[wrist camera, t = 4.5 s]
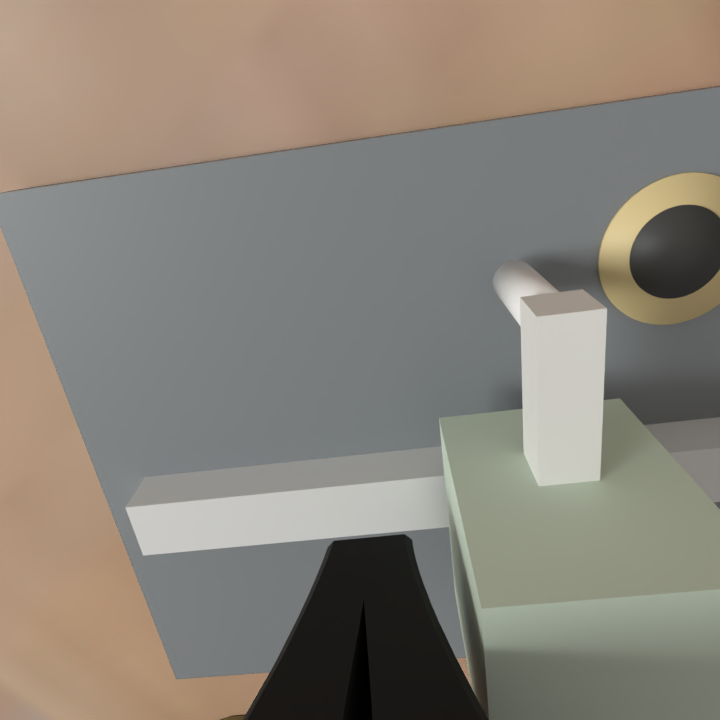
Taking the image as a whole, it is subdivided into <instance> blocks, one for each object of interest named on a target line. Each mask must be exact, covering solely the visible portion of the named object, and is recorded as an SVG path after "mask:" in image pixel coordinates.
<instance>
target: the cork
mask: <svg viewBox="0 0 720 720" xmlns="http://www.w3.org/2000/svg"><path fill="white" fill-rule="evenodd" d="M244 717H245V715H242V716H231V717H228V718H225V719H222V720H243V719H244Z"/></svg>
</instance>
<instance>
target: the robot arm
mask: <svg viewBox="0 0 720 720" xmlns="http://www.w3.org/2000/svg"><path fill="white" fill-rule="evenodd" d="M243 720H489V719H488V717H487V715H486V714H485V712H484V710H483V708H482V706H481V705H480V703H479V701H478V699H477V697H476V695H475V694H474V692H473V690H472V688H471V686H470V684H469V682H468V680H467V679H466V677H465V675H464V673H463V671H462V669H461V667H460V665H459V663H458V661H457V659H456V657H455V655H454V653H453V650H452V648H451V646H450V644H449V642H448V640H447V638H446V636H445V633H444V631H443V629H442V627H441V625H440V623H439V621H438V618H437V616H436V614H435V611H434V609H433V607H432V604H431V602H430V599H429V597H428V594H427V591H426V589H425V586H424V583H423V581H422V578H421V575H420V572H419V568H418V565H417V562H416V558H415V553H414V549H413V541H412V539H411V538H409V537H408V536H407V535H405V534H400V535H389V536H379V537H368V538H357V539H347V540H336V541H333V542H332V543H331V544H330V545H329V546H328V548H327V550H326V553H325V556H324V559H323V561H322V564H321V566H320V569H319V571H318V574H317V576H316V579H315V581H314V583H313V586H312V588H311V590H310V593H309V595H308V597H307V599H306V601H305V603H304V606H303V608H302V610H301V612H300V614H299V616H298V618H297V620H296V622H295V624H294V626H293V628H292V630H291V632H290V634H289V636H288V638H287V640H286V642H285V644H284V646H283V648H282V650H281V652H280V654H279V656H278V658H277V660H276V662H275V664H274V666H273V668H272V669H271V671H270V673H269V675H268V677H267V679H266V680H265V682H264V684H263V686H262V687H261V689H260V691H259V693H258V694H257V696H256V698H255V700H254V701H253V703H252V705H251V707H250V708H249V710H248V712H247V714H246V715H245V717H244V719H243Z"/></svg>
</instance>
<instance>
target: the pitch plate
mask: <svg viewBox="0 0 720 720" xmlns="http://www.w3.org/2000/svg"><path fill="white" fill-rule="evenodd" d="M0 227H1V229H2V232H3V234H4V237H5V240H6V242H7V245H8V247H9V250H10V252H11V255H12V258H13V260H14V263H15V265H16V268H17V271H18V273H19V276H20V278H21V281H22V283H23V286H24V289H25V291H26V294H27V296H28V299H29V301H30V304H31V307H32V309H33V312H34V314H35V317H36V319H37V322H38V325H39V327H40V330H41V332H42V335H43V337H44V340H45V343H46V345H47V348H48V350H49V353H50V355H51V358H52V361H53V363H54V366H55V368H56V371H57V373H58V376H59V379H60V381H61V384H62V386H63V389H64V391H65V394H66V397H67V399H68V402H69V404H70V407H71V409H72V412H73V415H74V417H75V420H76V422H77V425H78V427H79V430H80V433H81V435H82V438H83V440H84V443H85V445H86V448H87V451H88V453H89V456H90V458H91V461H92V463H93V466H94V469H95V471H96V474H97V476H98V479H99V481H100V484H101V487H102V489H103V492H104V494H105V497H106V499H107V502H108V505H109V507H110V510H111V512H112V515H113V518H114V520H115V523H116V525H117V528H118V530H119V533H120V536H121V538H122V541H123V543H124V546H125V548H126V551H127V554H128V556H129V559H130V561H131V564H132V566H133V569H134V572H135V574H136V577H137V579H138V582H139V584H140V587H141V590H142V592H143V595H144V597H145V600H146V602H147V605H148V608H149V610H150V613H151V615H152V618H153V620H154V623H155V626H156V628H157V631H158V633H159V636H160V638H161V641H162V644H163V646H164V649H165V651H166V654H167V656H168V659H169V662H170V664H171V667H172V669H173V672H174V674H175V677H176V679H187V678H201V677H214V676H227V675H240V674H254V673H267V672H270V671H271V669H272V668H273V666H274V664H275V662H276V660H277V658H278V656H279V654H280V652H281V650H282V648H283V646H284V644H285V642H286V640H287V638H288V636H289V634H290V632H291V630H292V628H293V626H294V624H295V622H296V620H297V618H298V616H299V614H300V612H301V610H302V608H303V606H304V603H305V601H306V599H307V597H308V595H309V593H310V590H311V588H312V586H313V583H314V581H315V579H316V576H317V574H318V571H319V569H320V566H321V564H322V561H323V559H324V556H325V553H326V550H327V548H328V546H329V545H330V544H331V543H332V542H333V541H336V540H347V539H357V538H368V537H379V536H389V535H400V534H405V535H407V536H408V537H409V538H411V539H412V541H413V549H414V553H415V558H416V562H417V565H418V568H419V572H420V575H421V578H422V581H423V583H424V586H425V589H426V591H427V594H428V597H429V599H430V602H431V604H432V607H433V609H434V611H435V614H436V616H437V618H438V621H439V623H440V625H441V627H442V629H443V631H444V633H445V636H446V638H447V640H448V642H449V644H450V646H451V648H452V650H453V653H454V655H455V657H456V658H466V653H465V647H464V641H463V636H462V630H461V624H460V618H459V613H458V607H457V601H456V595H455V587H454V576H453V565H452V554H451V543H450V532H449V521H448V511H447V500H446V489H445V478H444V467H443V456H442V445H441V435H440V424H439V418H442V417H452V416H461V415H470V414H479V413H489V412H498V411H507V410H516V409H523V404H522V362H521V327H520V325H519V324H518V322H517V321H516V320H515V318H514V317H513V316H512V314H511V313H510V311H509V310H508V309H507V307H506V306H505V305H504V303H503V302H502V300H501V299H500V298H499V296H498V295H497V294H496V292H495V290H494V288H493V277H494V274H495V272H496V271H497V269H498V268H499V267H500V266H501V265H502V264H504V263H506V262H508V261H511V260H521V261H524V262H526V263H528V264H529V265H530V266H531V267H532V268H533V269H534V270H536V271H537V272H538V273H539V274H540V275H541V276H542V277H543V278H544V279H546V280H547V281H548V282H549V283H550V284H551V285H552V286H553V287H554V288H556V289H557V290H558V291H559V292H565V291H573V290H581V289H583V290H584V291H586V292H587V293H588V294H590V295H591V296H592V297H593V298H595V299H596V300H597V301H598V302H600V303H601V304H602V305H604V306H605V307H606V308H607V325H606V349H605V374H604V398H603V400H609V399H618V398H620V399H621V400H622V401H623V402H624V404H625V405H626V406H627V407H628V408H629V409H630V410H631V411H632V412H633V414H634V415H635V416H636V417H637V418H638V419H639V420H640V421H641V422H642V423H643V425H644V426H645V427H646V428H647V429H648V430H649V431H650V432H651V433H652V435H653V436H654V437H655V438H656V439H657V440H658V441H659V442H660V443H661V445H662V446H663V447H664V448H665V449H666V450H667V451H668V452H669V453H670V455H671V456H672V457H673V458H674V459H675V460H676V461H677V462H678V463H679V465H680V466H681V467H682V468H683V469H684V470H685V471H686V472H687V473H688V475H689V476H690V477H691V478H692V479H693V480H694V481H695V482H696V483H697V485H698V486H699V487H700V488H701V489H702V490H703V491H704V492H705V493H706V495H707V496H708V497H709V498H710V499H711V500H712V501H713V502H714V503H715V505H716V506H717V507H718V508H719V509H720V86H715V87H708V88H702V89H695V90H688V91H681V92H675V93H668V94H661V95H654V96H648V97H641V98H634V99H627V100H620V101H614V102H607V103H600V104H593V105H587V106H580V107H573V108H566V109H559V110H553V111H546V112H539V113H532V114H526V115H519V116H512V117H505V118H499V119H492V120H485V121H478V122H471V123H465V124H458V125H451V126H444V127H438V128H431V129H424V130H417V131H411V132H404V133H397V134H390V135H383V136H377V137H370V138H363V139H356V140H350V141H343V142H336V143H329V144H323V145H316V146H309V147H302V148H295V149H289V150H282V151H275V152H268V153H262V154H255V155H248V156H241V157H235V158H228V159H221V160H214V161H207V162H201V163H194V164H187V165H180V166H174V167H167V168H160V169H153V170H146V171H140V172H133V173H126V174H119V175H113V176H106V177H99V178H92V179H86V180H79V181H72V182H65V183H58V184H52V185H45V186H38V187H31V188H25V189H19V190H13V191H8V192H2V193H0Z"/></svg>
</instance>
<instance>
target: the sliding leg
mask: <svg viewBox="0 0 720 720" xmlns="http://www.w3.org/2000/svg"><path fill="white" fill-rule="evenodd" d="M493 288H494V290H495V292H496V294H497V295H498V296H499V298H500V299H501V300H502V302H503V303H504V305H505V306H506V307H507V309H508V310H509V311H510V313H511V314H512V316H513V317H514V318H515V320H516V321H517V322H518V324H519V325H520V327H521V362H522V404H523V409H516V410H507V411H498V412H489V413H479V414H470V415H461V416H452V417H442V418H439V424H440V435H441V445H442V456H443V467H444V478H445V489H446V500H447V511H448V521H449V532H450V543H451V554H452V565H453V576H454V587H455V595H456V601H457V607H458V613H459V618H460V624H461V630H462V636H463V641H464V647H465V653H466V659H467V664H468V670H469V676H470V682H471V687H472V690H473V692H474V694H475V695H476V697H477V699H478V701H479V703H480V705H481V706H482V708H483V710H484V712H485V714H486V715H487V717H488V719H489V720H720V509H719V508H718V507H717V506H716V505H715V503H714V502H713V501H712V500H711V499H710V498H709V497H708V496H707V495H706V493H705V492H704V491H703V490H702V489H701V488H700V487H699V486H698V485H697V483H696V482H695V481H694V480H693V479H692V478H691V477H690V476H689V475H688V473H687V472H686V471H685V470H684V469H683V468H682V467H681V466H680V465H679V463H678V462H677V461H676V460H675V459H674V458H673V457H672V456H671V455H670V453H669V452H668V451H667V450H666V449H665V448H664V447H663V446H662V445H661V443H660V442H659V441H658V440H657V439H656V438H655V437H654V436H653V435H652V433H651V432H650V431H649V430H648V429H647V428H646V427H645V426H644V425H643V423H642V422H641V421H640V420H639V419H638V418H637V417H636V416H635V415H634V414H633V412H632V411H631V410H630V409H629V408H628V407H627V406H626V405H625V404H624V402H623V401H622V400H621V399H620V398H618V399H609V400H603V398H604V374H605V349H606V325H607V308H606V307H605V306H604V305H602V304H601V303H600V302H598V301H597V300H596V299H595V298H593V297H592V296H591V295H590V294H588V293H587V292H586V291H584V290H583V289H581V290H573V291H565V292H559V291H558V290H557V289H556V288H554V287H553V286H552V285H551V284H550V283H549V282H548V281H547V280H546V279H544V278H543V277H542V276H541V275H540V274H539V273H538V272H537V271H536V270H534V269H533V268H532V267H531V266H530V265H529V264H528V263H526V262H524V261H521V260H511V261H508V262H506V263H504V264H502V265H501V266H500V267H499V268H498V269H497V271H496V272H495V274H494V277H493Z"/></svg>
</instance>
